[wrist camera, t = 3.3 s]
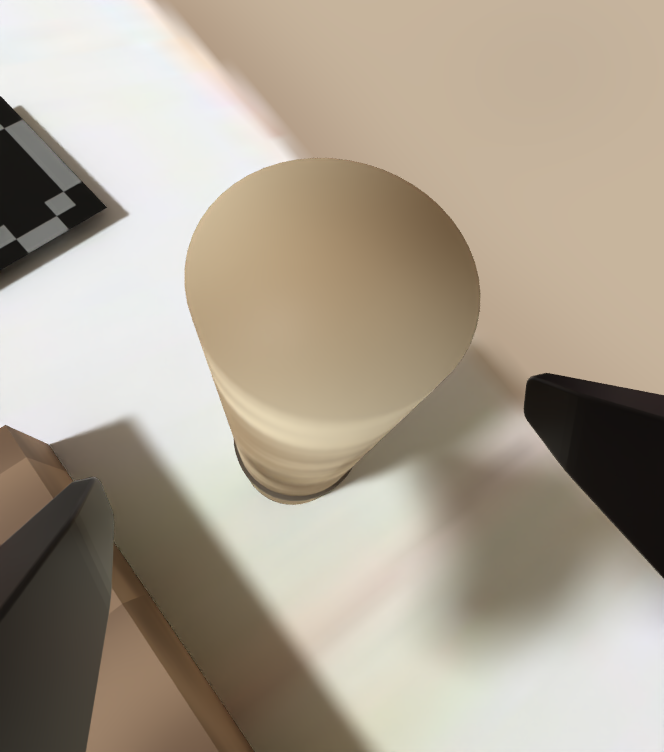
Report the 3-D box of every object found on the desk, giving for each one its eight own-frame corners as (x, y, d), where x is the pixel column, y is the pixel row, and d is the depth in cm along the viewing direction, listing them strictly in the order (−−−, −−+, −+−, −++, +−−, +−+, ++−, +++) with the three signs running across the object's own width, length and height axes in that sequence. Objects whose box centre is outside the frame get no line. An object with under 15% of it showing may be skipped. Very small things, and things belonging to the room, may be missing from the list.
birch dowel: (366, 461, 19) (546, 304, 6) (284, 531, 17) (315, 499, 5) (301, 383, 19) (353, 113, 7) (218, 444, 18) (110, 239, 6)
